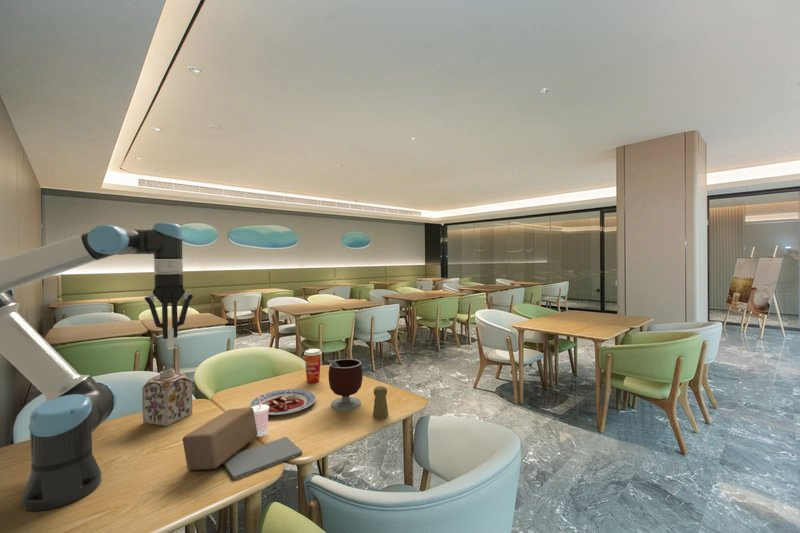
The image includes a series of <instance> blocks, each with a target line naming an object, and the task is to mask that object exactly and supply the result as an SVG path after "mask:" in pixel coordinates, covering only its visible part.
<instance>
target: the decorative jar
mask: <svg viewBox="0 0 800 533" xmlns="http://www.w3.org/2000/svg"><path fill="white" fill-rule="evenodd" d="M192 382H193V381H192V379H191V378H190V377H189V376H187V374H185V373H184V372H183V373H182V372H178V371H177V372H176V371H175V370H174V369H167V370H162V371H160V373H159V374H157V375H155V376H153V377H151V378H150V379H148V381H147V382H146V383H145V384H144V385H143V386H142V389H141V390H142V393H141V394H142V397H141V398H142V422H143V423H144V424H148V423H149V425H154V424H156V426H161V425H162V426H163V427H169V426H171V425H173V424H174V423H176V422H178V421H181V420H183V419H184V418H186V417H188V415H189V416H191V415H192V414H193V384H192ZM190 414H191V415H190Z"/></svg>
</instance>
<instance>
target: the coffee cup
mask: <svg viewBox="0 0 800 533" xmlns="http://www.w3.org/2000/svg"><path fill="white" fill-rule="evenodd" d="M303 354H304V360H305V374H306V382H307V383H309V384H314V383H316V384H317V383H319V382H320V378H321V374H320V373H321V359H322V358H321V355H322V351H321V350H320V348H309V349H306V350H305V351H304V353H303Z"/></svg>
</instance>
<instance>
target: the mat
mask: <svg viewBox="0 0 800 533" xmlns="http://www.w3.org/2000/svg"><path fill="white" fill-rule="evenodd" d="M300 454H302V455H303V450H302V449H301V448H299V446H298V445H297V444H295V443H294V442H293V441H292V440H290V439H289V438H288V437H287V436H284V437H281V438H278V439H275V440H273V441H269V442H266V443H263V444H261V445H260V444H259V445H257V446H254V447H251V448H248V449H245V450H243V451H240V452H239V451H238V452H236V453H235V454H233V455H232V456H231V457H230V458H228V459H227V460H226V461H225V462H223V463H222V465H223V466H224V467H225V470H227V472H228V475H230V477H231V476H232V477H231V479H232V480H233V479H236V478H238V479H240V478H239V477H241V478H243V477H242V476H244V477H246V476H248V475H247V474H249V475H251V474H253V473H252V472H254V473H256V472H255V471H257V470H259V469H262V468H265V469H267V468H269V466H270V467H272V466H274V465H278V464H281V463H282V462H285V461H288V460H290V458H291V457H293V456H296V457H298V456H297V455H299V456H301V455H300ZM291 459H292V458H291ZM266 467H267V468H266ZM262 470H263V469H262ZM259 471H260V470H259ZM257 472H258V471H257ZM250 473H251V474H250ZM245 475H246V476H245ZM236 480H237V479H236Z"/></svg>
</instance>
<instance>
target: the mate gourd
mask: <svg viewBox="0 0 800 533" xmlns="http://www.w3.org/2000/svg"><path fill="white" fill-rule="evenodd" d="M326 362H327V363H329V367H328V385H329V388H330V390H331V391H332V392H333V393H334V394H335V395H337V396H341V397H339V398H335V399H334V400H331V402H330V407H331V408H332V409H333V410H336V411H352V410H355V409H358V408H359V407H360V406H361V404H362V401H361V399H359V398H357V397H352V395H355V394H357V393H358V392H359V390H360V389H361V387H362V383H363V376H364V375H363V373H364V372H363V371H364V370H363V365H362V361H361V360H359V359H355V358H354V359H353V358H342V359H335V360H330V359H327V360H326Z"/></svg>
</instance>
